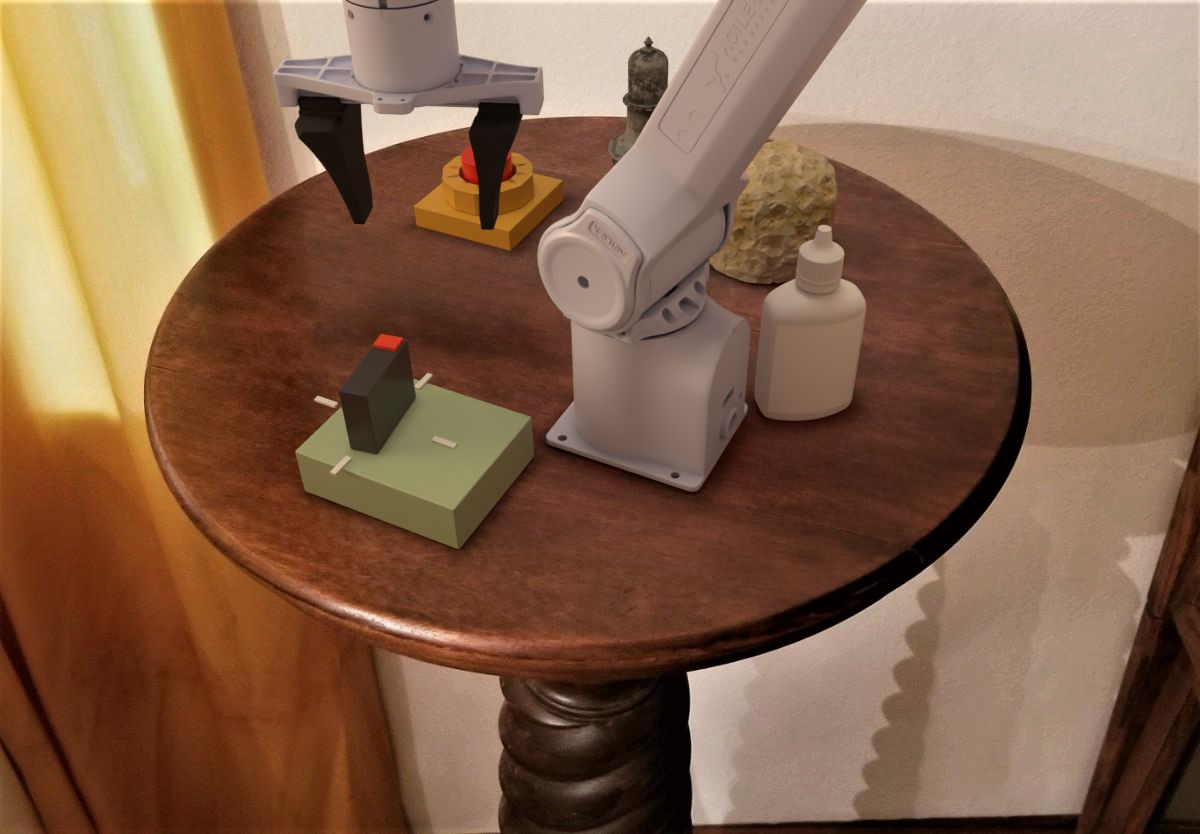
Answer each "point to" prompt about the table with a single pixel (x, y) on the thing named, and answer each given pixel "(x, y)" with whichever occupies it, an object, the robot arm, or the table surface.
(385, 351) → the knob
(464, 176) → the button
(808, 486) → the table surface
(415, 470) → the panel
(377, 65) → the robot arm
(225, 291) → the table surface
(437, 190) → the button box
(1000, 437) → the table surface
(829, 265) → the eye dropper bottle
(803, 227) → the coral
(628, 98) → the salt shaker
